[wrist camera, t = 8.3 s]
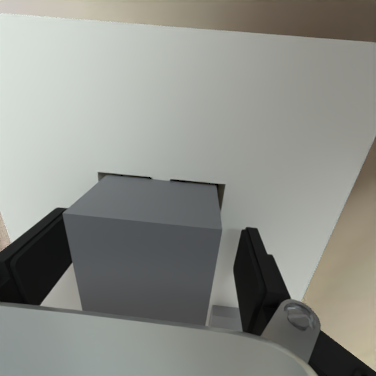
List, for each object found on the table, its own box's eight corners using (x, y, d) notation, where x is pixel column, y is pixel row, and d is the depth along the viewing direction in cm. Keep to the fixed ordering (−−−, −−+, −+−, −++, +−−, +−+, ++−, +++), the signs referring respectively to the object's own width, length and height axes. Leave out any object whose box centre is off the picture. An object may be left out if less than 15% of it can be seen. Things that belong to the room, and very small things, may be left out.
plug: (122, 161, 14) (62, 213, 8) (214, 169, 14) (222, 229, 8) (127, 239, 16) (84, 321, 11) (203, 247, 16) (203, 335, 10)
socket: (-7, 27, 12) (-97, 0, 8) (363, 56, 11) (437, 41, 8) (59, 284, 20) (29, 325, 17) (270, 308, 19) (285, 355, 16)
